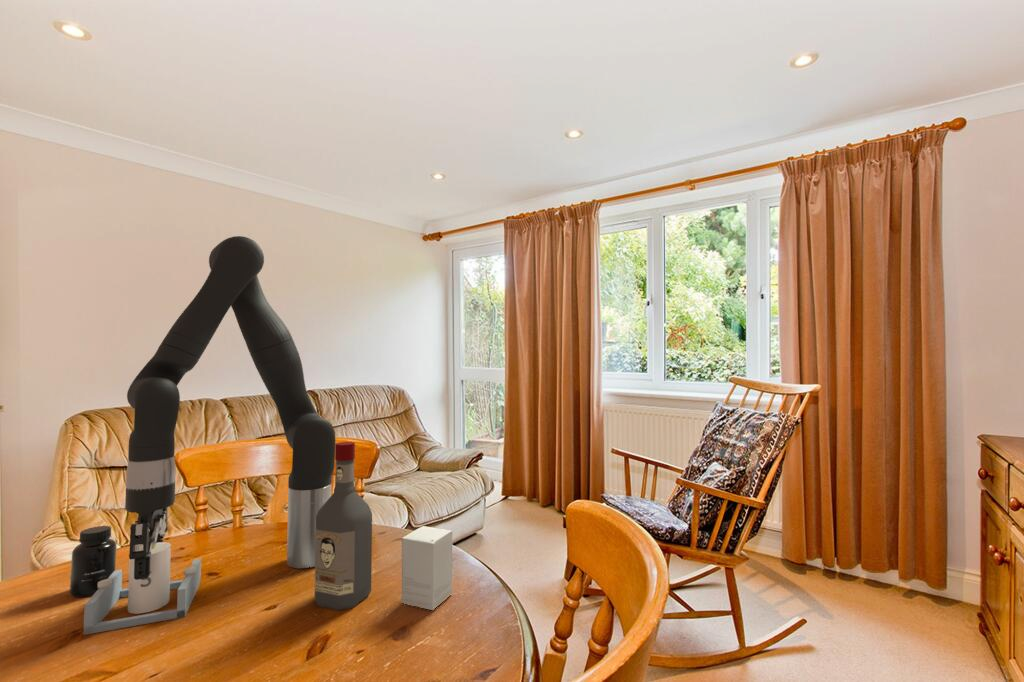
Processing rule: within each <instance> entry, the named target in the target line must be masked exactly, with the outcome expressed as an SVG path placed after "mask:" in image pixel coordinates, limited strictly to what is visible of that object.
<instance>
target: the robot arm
mask: <svg viewBox="0 0 1024 682" xmlns="http://www.w3.org/2000/svg"><path fill="white" fill-rule="evenodd" d="M264 263H265V255H264V252H263V249H262V248H261V246H260V245H259V244H258V243H257V242H256V241H255V240H253V239H251V238H250V237H246V236H242V235H241V236H240V235H238V236H237V235H236V236H231V237H228V238H225V239H223V240H222V241H220V242H219V243H218V244H217V245H215V247H214V248H212V250H211V252H210V254H209V257H208V264H209V269H210V272H209V273H208V276H207V277H206V279H205V281H204V283H203V285H202V286H201V288H200V290H199V291H198V292H197V294H196V295H194V298H193V299H192V300H191V302H190V303H189V304H188V305H187V306H186V307H185V309H184V310H183V311H182V313H181V314H180V315H179V316H178V318H177V319H176V321H175V322H173V324H172V326H171V328H170V329H169V330H168V331H167V333H166V335H165V337H164V338H163V340H162V342H161V343H160V344H159V346H158V348H157V349H156V351H155V353H154V355H153V356H152V357H151V358H150V359H149V361H148V362H147V363H146V364H145V365H144V367H143V368H142V369H141V370H140V371H139V373H138V374H137V375H136V377H135V378H134V379H133V380H132V382H131V383H130V386H129V387H128V389H127V392H126V393H127V394H126V399H127V403H128V404H129V406H130V407H131V408H132V409H134V416H133V417H134V418H133V419H134V420H133V430H132V431H130V432H131V433H130V435H129V439H128V452H127V454H128V455H127V456H128V457H127V460H128V461H127V466H126V471H125V472H126V475H125V499H124V500H125V504H124V505H125V506H124V507H125V511H126V512H128V513H135V514H138V515H137V520H135V521H134V523H132V524H131V525H130V527H129V528H130V535H129V554H128V558H129V559H134V579H136V580H138V579H145V578H148V577H149V575H150V555H151V550H152V546H153V545H154V544H155V543H158V542H164V540H165V537H166V533H167V532H168V529H169V528H168V508H169V507H171V506H173V505H174V504H175V501H176V460H175V445H176V444H175V430H176V427H177V422H178V417H179V416H178V415H179V412H180V405H181V396H180V390H179V388H178V385H179V384H180V382H181V381H182V379H183V377H184V376H185V375H186V374H187V373H188V372H190V371H191V370H193V369H194V368H195V366H196V365H197V363H198V362H199V361H200V359H201V357H202V356H203V354H204V352H205V350H206V349H207V347H208V345H210V342H211V340H212V339H213V337H214V335H215V333H216V332H217V330H218V328H219V326H220V325H221V323H222V321H223V319H224V317H225V316H226V314H227V313H228V311H229V310H230V308H231V309H232V311H233V312H234V317H235V319H236V322H237V324H238V327H239V330H240V332H241V335H242V337H243V340H244V342H245V345H246V347H247V349H248V352H249V355H250V357H251V359H252V361H253V364H254V366H255V369H256V370H257V373H258V375H259V376H260V378H261V380H262V382H263V383H264V386H265V388H266V389H267V391H268V393H269V395H270V397H271V398H272V400H273V402H274V404H275V406H276V409H277V412H278V414H279V418H280V422H281V425H282V428H283V431H284V434H285V439H286V441H287V444H288V446H289V447H290V448H291V450H292V457H291V458H292V459H291V461H292V462H291V463H292V464H291V465H292V466H291V471H290V473H289V475H288V481H287V482H288V484H287V487H288V489H287V491H288V493H287V495H288V496H287V498H288V499H287V539H286V542H287V545H286V550H287V551H286V565H287V566H288V567H290V568H293V569H308V568H309V567H310V568H315V548H316V516H317V513H318V511H319V509H320V508H321V507H322V506H323V505H324V504H325V503H326V501H327V500H328V499H329V498H330V497H331V496H332V477H333V474H334V470H335V465H336V462H335V461H336V460H335V450H336V432H335V429H334V426H333V424H332V423H331V422H330V421H329V420H328V419H326V418H324V417H323V416H322V417H321V416H320V415H319V414H318V412H317V409H316V408H315V406H314V404H313V402H312V400H311V398H310V395H309V393H308V390H307V387H306V381H305V376H304V369H303V364H302V360H301V356H300V353H299V351H298V348H297V346H296V343H295V340H294V339H293V335H291V333H290V330H289V328H288V327H287V326H286V324H285V323H284V321H283V320H282V319H281V318H280V316H279V315H278V314H277V313H276V311H275V310H274V309H273V307H272V306H271V304H270V302H268V300H267V297H266V296H265V293H264V292H263V289H262V286H261V283H260V280H259V277H258V275H259V273H260V272H261V270H262V269H263V267H264ZM140 546H143V551H139V547H140Z"/></svg>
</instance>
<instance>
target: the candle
mask: <svg viewBox="0 0 1024 682" xmlns="http://www.w3.org/2000/svg"><path fill="white" fill-rule="evenodd" d="M171 547H172V544H171V543H169V542H166V541H165V542H164V541H163V542H158V543H155V544H154V545H153V546H152V550H151V555H150V575H149V577H148V578H145V579H138V580H136V579H134V559H129V560H128V596H127V612H128V613H129V614H133V615H134V614H136V615H137V614H139V615H141V614H144V613H145V614H147V613H150V612H151V613H152V612H153V611H156V610H158V609H162V608H163V607H164V606H166V605H167V604H169V602H170V593H171V592H170V591H171V590H170V582H171V554H172V553H171V552H172V551H171V550H172V548H171ZM139 551H143V546H140V547H139Z"/></svg>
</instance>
